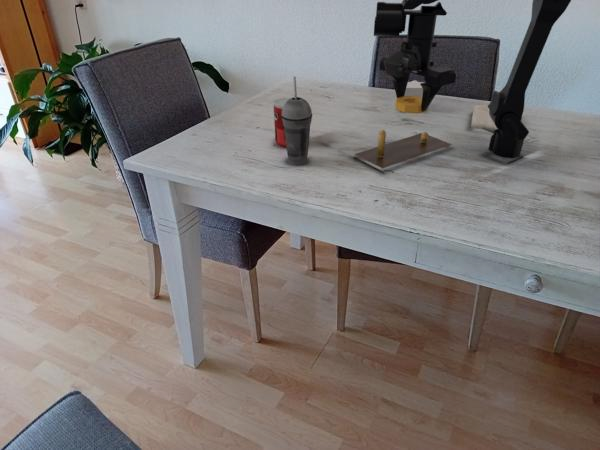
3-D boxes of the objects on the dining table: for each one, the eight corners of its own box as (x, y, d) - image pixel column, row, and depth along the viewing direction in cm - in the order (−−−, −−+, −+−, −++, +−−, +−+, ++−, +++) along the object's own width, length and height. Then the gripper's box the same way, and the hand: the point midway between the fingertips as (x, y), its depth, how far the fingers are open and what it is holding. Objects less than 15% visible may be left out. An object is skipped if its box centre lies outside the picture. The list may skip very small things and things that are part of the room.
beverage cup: (286, 169, 107) (283, 83, 96) (279, 157, 113) (276, 75, 102) (316, 165, 109) (316, 80, 98) (307, 153, 114) (307, 72, 104)
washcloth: (514, 115, 136) (517, 105, 134) (515, 136, 122) (518, 125, 120) (473, 111, 139) (475, 101, 138) (469, 131, 125) (471, 120, 124)
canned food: (285, 135, 125) (283, 95, 119) (310, 140, 122) (309, 100, 116) (269, 144, 120) (267, 103, 114) (295, 150, 116) (294, 108, 110)
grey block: (422, 99, 148) (427, 70, 141) (425, 117, 141) (431, 88, 134) (397, 99, 149) (401, 70, 142) (399, 116, 142) (403, 87, 135)
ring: (433, 109, 107) (434, 101, 106) (411, 115, 104) (412, 107, 103) (411, 101, 112) (411, 94, 111) (389, 106, 109) (389, 99, 108)
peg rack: (451, 148, 116) (456, 118, 111) (382, 173, 104) (385, 140, 100) (421, 136, 123) (425, 107, 118) (353, 158, 111) (355, 127, 107)
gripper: (364, 34, 102) (359, 102, 111) (426, 48, 89) (416, 124, 98) (400, 29, 107) (393, 94, 116) (463, 42, 94) (450, 115, 103)
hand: (411, 106), depth 108 cm, fingers closed on ring, 7 cm apart
